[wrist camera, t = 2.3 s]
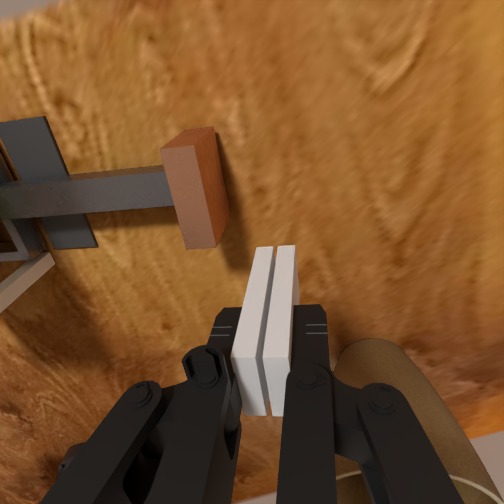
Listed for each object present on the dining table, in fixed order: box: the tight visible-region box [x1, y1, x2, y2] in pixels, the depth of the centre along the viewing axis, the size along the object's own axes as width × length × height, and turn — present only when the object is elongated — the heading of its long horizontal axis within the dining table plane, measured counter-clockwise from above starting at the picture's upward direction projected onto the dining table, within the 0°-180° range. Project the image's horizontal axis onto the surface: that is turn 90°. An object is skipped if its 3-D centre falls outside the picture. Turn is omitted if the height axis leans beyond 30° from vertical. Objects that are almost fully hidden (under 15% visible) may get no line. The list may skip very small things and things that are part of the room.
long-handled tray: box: [0, 126, 230, 262], centre depth 32 cm, size 12×33×6 cm, turn 98°
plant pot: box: [333, 339, 504, 504], centre depth 34 cm, size 15×15×16 cm
